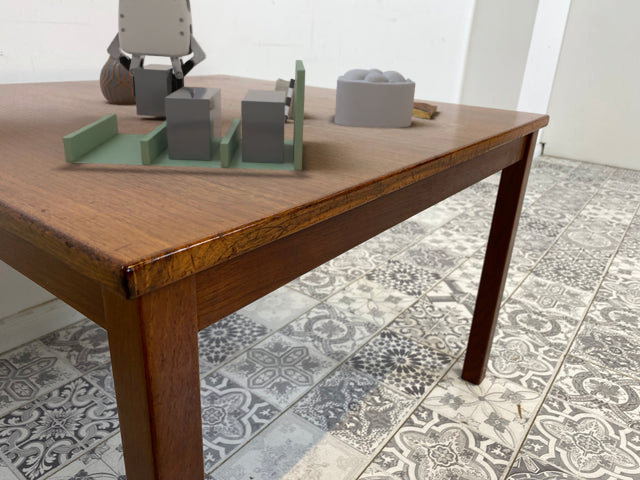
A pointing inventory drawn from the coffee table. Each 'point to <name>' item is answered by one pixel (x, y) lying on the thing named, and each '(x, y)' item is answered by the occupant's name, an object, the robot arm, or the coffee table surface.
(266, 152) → the clay tablet
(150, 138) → the book rack
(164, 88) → the gray rectangular block
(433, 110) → the brown yellow flat block
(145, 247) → the coffee table surface
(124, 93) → the vase
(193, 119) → the clay tablet
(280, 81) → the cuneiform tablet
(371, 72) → the lumpy-topped squat cylinder
